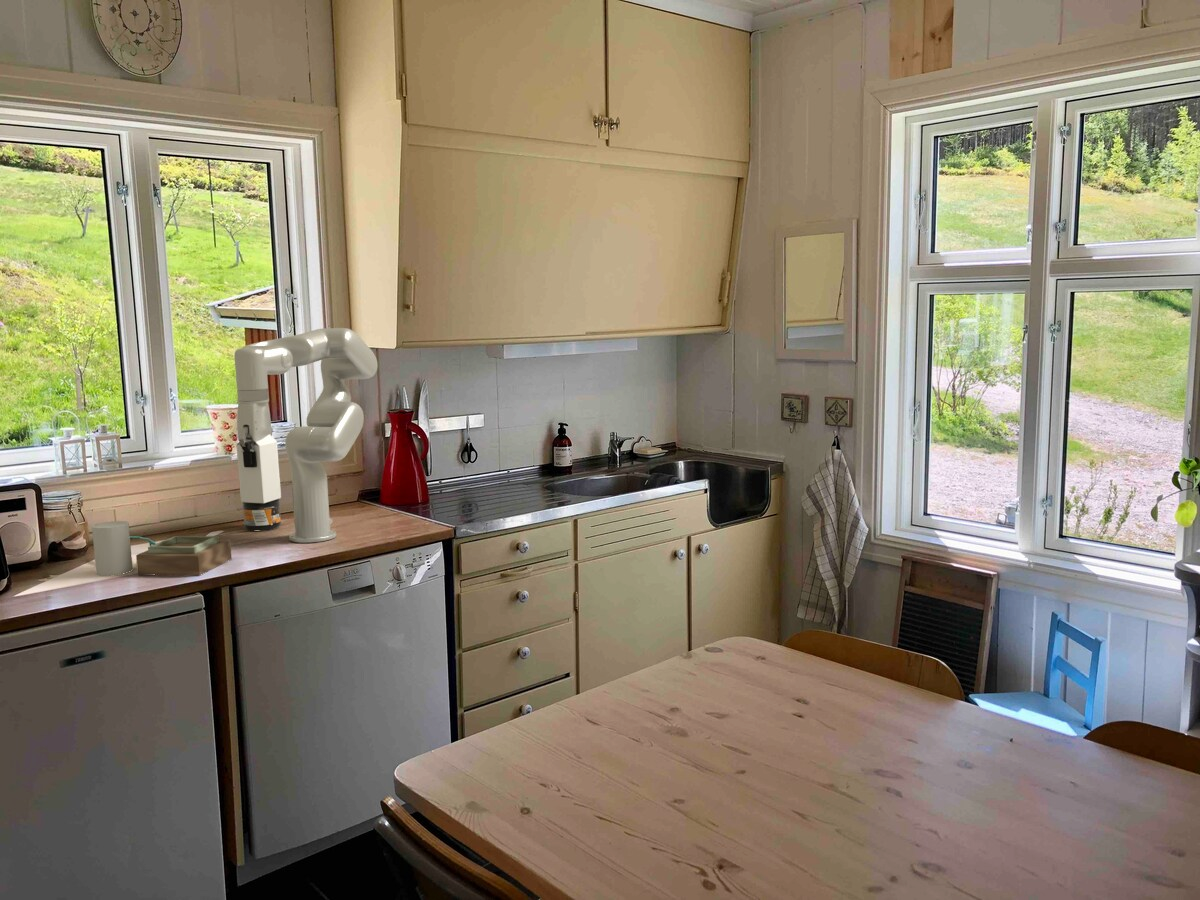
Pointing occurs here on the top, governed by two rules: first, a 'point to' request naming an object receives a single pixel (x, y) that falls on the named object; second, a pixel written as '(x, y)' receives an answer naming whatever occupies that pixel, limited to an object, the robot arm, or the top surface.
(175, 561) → the stand
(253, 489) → the milk carton
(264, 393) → the robot arm
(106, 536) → the cup
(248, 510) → the supplement container
